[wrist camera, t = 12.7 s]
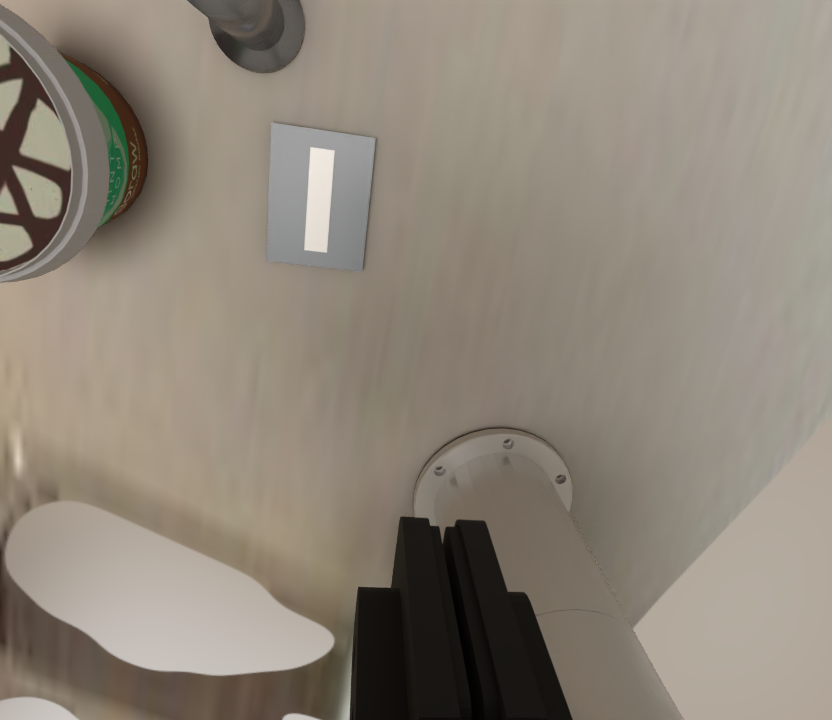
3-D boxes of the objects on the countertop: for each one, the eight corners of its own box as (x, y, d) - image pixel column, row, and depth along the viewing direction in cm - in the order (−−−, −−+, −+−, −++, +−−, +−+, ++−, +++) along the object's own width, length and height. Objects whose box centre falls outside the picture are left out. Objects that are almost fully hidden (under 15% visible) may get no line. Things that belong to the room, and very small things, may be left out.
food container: (167, 267, 34) (92, 313, 25) (62, 250, 33) (-56, 292, 24) (171, 48, 29) (82, 5, 20) (50, 22, 28) (-100, -36, 19)
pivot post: (301, 79, 30) (276, 53, 22) (211, 64, 30) (147, 32, 21) (307, -24, 29) (281, -98, 20) (210, -42, 28) (140, -127, 19)
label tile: (362, 269, 35) (362, 272, 34) (268, 258, 34) (265, 261, 33) (375, 138, 32) (375, 138, 31) (273, 123, 31) (270, 122, 30)
